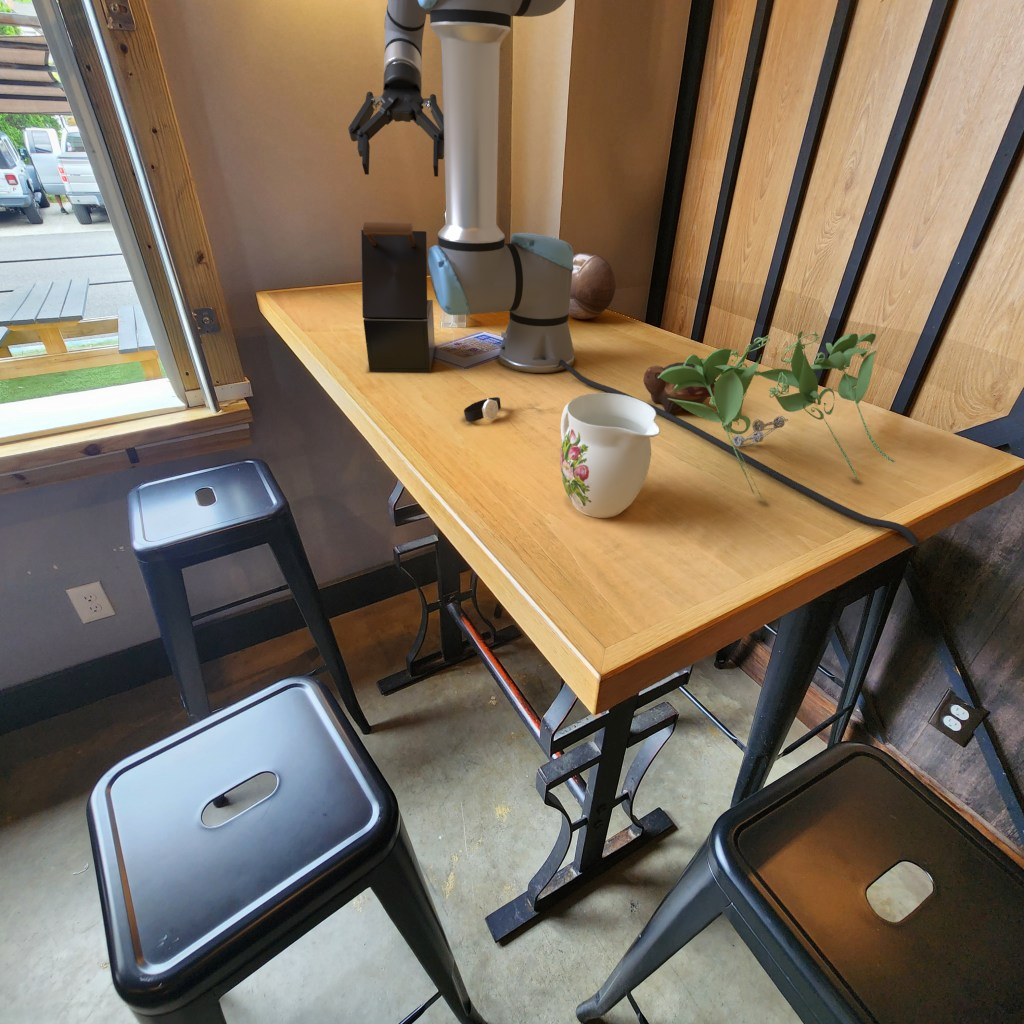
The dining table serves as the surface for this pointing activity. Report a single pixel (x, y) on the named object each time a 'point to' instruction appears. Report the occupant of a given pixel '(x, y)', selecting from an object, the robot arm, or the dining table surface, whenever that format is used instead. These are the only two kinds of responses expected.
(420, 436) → the dining table surface
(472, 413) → the watch
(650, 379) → the decorative turtle
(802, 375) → the plant cuttings
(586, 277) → the wooden sphere
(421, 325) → the open box
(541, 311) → the robot arm
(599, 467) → the pitcher
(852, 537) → the dining table surface
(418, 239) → the bacon press
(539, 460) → the dining table surface
